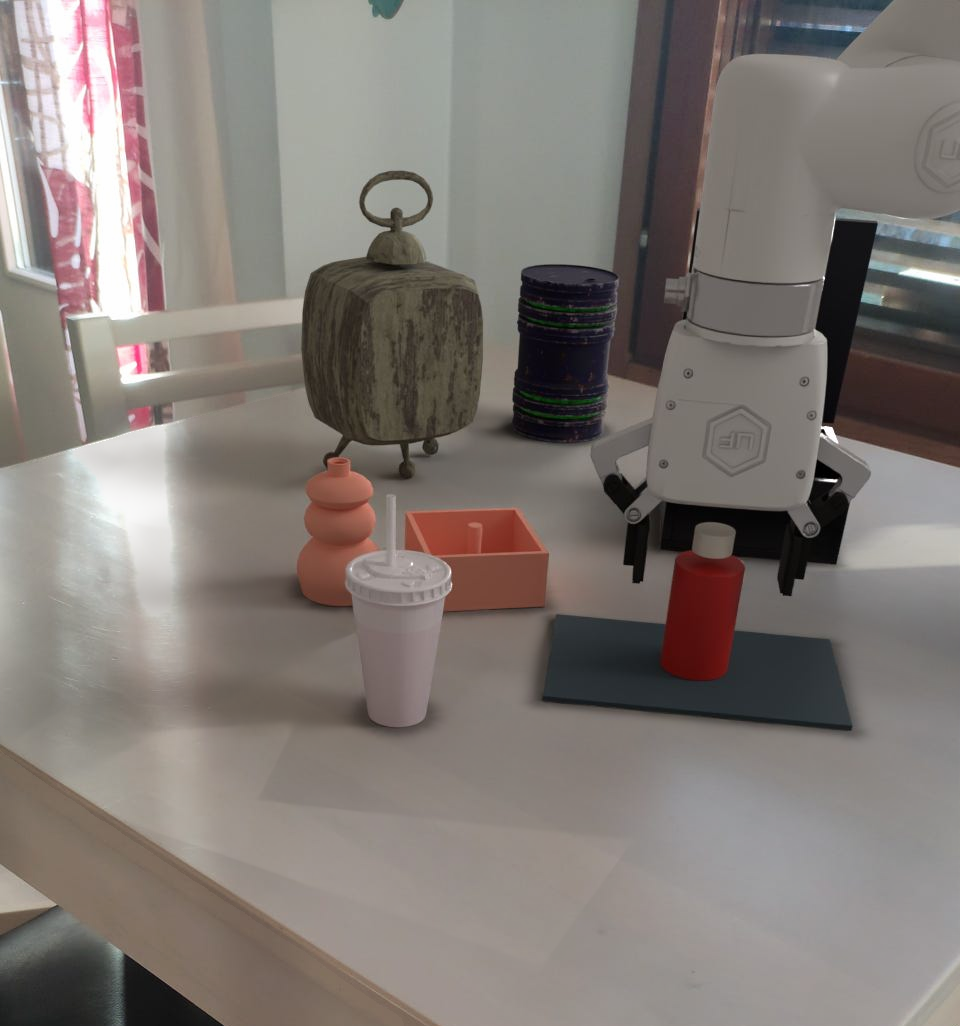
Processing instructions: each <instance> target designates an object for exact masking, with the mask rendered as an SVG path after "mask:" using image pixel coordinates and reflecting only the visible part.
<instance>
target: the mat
mask: <svg viewBox="0 0 960 1026" xmlns="http://www.w3.org/2000/svg"><path fill="white" fill-rule="evenodd" d="M554 617H555V618H554V624H553V630H552V635H551V641H550V648H549V654H548V661H547V666H546V672H545V679H544V685H543V691H542V699H541V701H542V702H551V703H560V704H561V703H562V704H572V705H582V706H592V707H602V708H612V709H613V708H614V709H620V710H621V709H622V710H623V709H624V710H633V711H642V712H655V713H662V714H663V713H664V714H674V715H684V716H695V717H705V718H713V719H714V718H715V719H726V720H734V721H735V720H737V721H746V722H747V721H748V722H755V723H756V722H757V723H765V724H766V723H767V724H778V725H787V726H797V727H808V728H809V727H810V728H816V729H817V728H818V729H826V730H827V729H829V730H837V731H838V730H841V731H848V732H849V731H850V732H851V731H852V730H853V722H852V719H851V718H852V717H851V714H850V711H849V707H848V702H847V699H846V694H845V691H844V687H843V683H842V679H841V675H840V672H839V671H840V670H839V668H838V664H837V659H836V656H835V652H834V650H833V645H832V641H831V639H830V638H821V637H820V638H819V637H808V636H801V635H800V636H798V635H787V634H777V633H776V634H775V633H767V632H766V633H765V632H755V631H744V630H735V629H734V635H733V641H732V646H731V652H730V657H729V663H728V669H727V672H726V673H725V674H724V675H723V676H722V677H720V678H717V679H714V680H708V681H695V680H688V679H683V678H680V677H677V676H674V675H672V674H670V673H668V672H667V671H666V670H664V669H663V667H662V666H661V662H660V661H661V654H662V647H663V640H664V633H665V626H666V623H658V622H646V621H637V620H636V621H635V620H624V619H614V618H605V617H603V618H602V617H592V616H582V615H572V614H571V615H570V614H562V613H561V614H560V613H556V614H555V616H554Z"/></svg>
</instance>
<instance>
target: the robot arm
mask: <svg viewBox="0 0 960 1026" xmlns="http://www.w3.org/2000/svg"><path fill="white" fill-rule="evenodd" d="M707 143H708V144H707V150H706V159H705V164H704V165H705V166H704V174H703V182H702V189H701V190H702V191H701V198H700V205H699V209H700V213H699V221H698V229H697V237H696V245H695V253H694V260H693V265H692V272H691V273H688V272H686V275H685V276H678V277H679V278H668V277H667V278H665V279H666V280H665V287H664V295H663V296H664V297H663V304H672V305H675V307H677V308H678V307H681V308H682V313H683V312H687V317H686V320H682V319H681V320H679V321H677V322H675V324H674V327H673V329H672V331H671V334H670V336H669V339H668V343H667V347H666V350H665V352H664V353H665V354H664V358H663V363H662V368H661V374H660V376H659V381H658V385H657V389H656V396H655V401H654V408H653V412H652V417H650V418H647V419H645V420H643V421H640V422H638V423H636V424H632V425H631V426H628V427H626V428H624V429H622V430H619V431H617V432H614V433H612V434H609V435H607V436H605V437H602V438H601V439H598V440H596V441H594V442H593V443H592V444H591V447H590V453H589V456H590V459H591V461H592V464H593V466H594V469H595V471H596V473H597V476H598V478H599V480H600V483H601V485H602V488H603V491H604V493H605V494H606V496H607V497H608V498H609V499H610V500H611V502H612V503H613V504H614V505H615V506H616V507H617V509H618V510H619V511H620V512H621V513H622V514H623V516H624V517H623V518H624V520H625V521H626V522H627V524H626V532H625V540H624V550H623V561H622V565H623V566H628V567H632V577H631V578H632V580H631V583H632V584H637V585H640V584H641V583H644V581H645V580H644V579H645V572H646V571H645V570H646V562H647V555H648V546H649V537H650V529H651V512H652V511H653V510H655V508H656V507H657V506H659V505H660V502H661V501H662V500H663V501H666V502H671V503H678V504H688V505H699V506H711V507H724V508H736V509H750V510H764V511H787V512H788V514H789V515H790V517H791V518H792V521H790V524H787V526H786V531H785V536H784V542H783V547H782V552H781V558H780V560H779V564H778V569H777V573H776V574H777V576H776V581H777V586H778V590H779V594H782V596H783V597H792V595H793V591H794V586H795V580H799V581H803V580H804V579H805V576H806V570H807V566H808V562H807V561H808V556H809V551H810V546H811V541H812V538H813V537H815V536H816V535H818V533H819V532H820V529H821V528H822V527H824V526H825V525H827V524H828V523H829V522H831V521H832V520H833V519H835V518H836V517H837V516H839V515H840V514H842V513H843V512H844V511H845V510H846V509H847V507H848V504H849V503H850V504H851V501H852V500H853V499H855V497H857V495H858V494H859V492H860V491H861V490H862V488H863V487H864V486H865V485H866V483H868V481H869V480H870V478H871V475H872V471H871V469H870V466H869V464H868V463H867V461H866V460H864V459H862V458H860V457H859V456H857V455H856V454H855V453H853V452H851V451H850V450H848V449H847V448H845V447H844V446H842V445H841V444H839V442H838V443H836V442H835V441H833V440H832V439H830V438H829V437H827V436H826V435H824V434H822V433H821V427H823V426H822V425H823V423H822V419H823V410H824V401H825V391H826V379H827V339H826V338H825V337H824V336H823V334H822V333H820V332H818V331H816V330H815V327H816V321H817V316H818V311H819V305H820V300H821V294H822V289H823V283H824V276H825V273H826V267H827V262H828V256H829V251H830V245H831V240H832V235H833V229H834V224H835V218H837V212H838V211H839V210H840V209H849V210H856V211H861V212H867V213H872V214H879V215H884V216H888V217H889V216H890V217H892V218H898V219H905V220H912V221H924V220H925V221H926V220H935V219H939V218H944V217H947V216H950V215H952V214H955V213H957V212H960V0H892V1H891V2H890V3H889V4H888V5H887V6H886V7H885V8H884V9H883V10H882V11H881V12H880V14H878V16H876V17H875V18H874V19H873V20H872V21H871V22H870V23H869V25H867V26H866V27H865V29H864V30H862V31H861V33H860V34H859V35H857V37H856V38H855V39H853V41H852V42H851V43H849V45H848V46H847V47H846V48H845V49H844V51H843V52H841V53H840V55H839V56H838V57H837V58H836V59H833V58H829V57H821V56H813V55H800V54H799V55H797V54H780V53H779V54H778V53H752V54H745V55H740V56H737V57H735V58H733V59H731V60H730V61H729V62H728V63H727V64H726V65H725V66H724V67H723V69H722V70H721V72H720V75H718V79H717V82H716V86H715V91H714V98H713V102H712V112H711V119H710V127H709V133H708V142H707ZM646 447H648V448H647V455H646V469H645V470H646V471H645V472H646V474H645V477H644V478H643V479H642V480H641V481H640V482H639V483H638V484H637V485H635V487H634V486H632V484H631V483H630V481H628V479H627V478H626V476H625V475H624V474H622V472H621V471H620V468H619V465H618V463H617V461H618V459H620V458H622V457H624V456H626V455H629V454H632V453H634V452H636V451H639V450H641V449H644V448H646ZM817 460H819V461H820V462H822V463H824V464H825V465H827V466H828V467H830V468H831V469H833V470H834V471H836V472H837V473H839V474H840V477H839V479H838V480H837V481H836V484H835V485H834V486H833V488H831V489H829V490H828V491H827V492H825V493H824V494H823V495H821V496H820V497H819V498H817V499H816V500H814V501H813V502H812V503H811V502H810V500H809V499H808V498H809V495H810V492H811V488H812V484H813V479H814V474H815V467H816V461H817Z"/></svg>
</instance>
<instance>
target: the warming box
mask: <svg viewBox="0 0 960 1026" xmlns="http://www.w3.org/2000/svg"><path fill="white" fill-rule="evenodd" d="M821 433H822V434H824V435H826V436H827V437H829V438H830V439H832V440H833V441H835V442H836V443H838V444H839V441H838V439H837V436H836V433H835V431H834V429H833V427H831V426H821ZM839 477H840V474H839V473H837V472H836V471H834V470H833V469H831V468H830V467H828V466H827V465H825V464H824V463H822V462H820V461H819V460H817V461H816V467H815V474H814V479H813V484H812V488H811V492H810V495H809V498H808V499H809V500H810V502H811V503H812V502H813V501H814V500H816V499H817V498H819V497H820V496H821V495H823V494H824V493H825V492H827V491H828V490H829V489H831V488H833V486H834V485H835V484H836V481H837V480H838V479H839ZM850 505H851V502H850V503H849V504H848V507H847V509H846V510H845V511H844V512H843V513H842V514H840V515H839V516H837V517H836V518H835V519H833V520H832V521H831V522H829V523H828V524H827V525H825V526H824V527H822V528H821V529H820V532H819V533H818V535H816V536H815V537H813V538H812V541H811V546H810V551H809V556H808V561H807V563H811V564H823V565H837V564H838V559H839V555H840V551H841V550H840V549H841V546H842V541H843V537H844V531H845V528H846V523H847V518H848V514H849V510H850ZM790 521H792V518H791V517H790V515H789V514H788V512H787V511H764V510H750V509H736V508H724V507H711V506H699V505H688V504H678V503H671V502H666V501H663V500H662V501H661V502H660V503H659V549H660V550H665V551H676V552H677V551H678V552H685V551H690V550H692V546H693V539H694V532H695V527H696V526H697V525H698V524H700V523H706V522H715V523H722V524H725V525H728V526H731V527H732V528H734V529H735V531H736V533H735V539H734V545H733V551H732V555H733V556H735V557H744V558H755V559H766V560H777V561H778V560H779V561H780V558H781V552H782V547H783V542H784V536H785V531H786V526H787V524H790Z"/></svg>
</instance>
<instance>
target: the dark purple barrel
mask: <svg viewBox="0 0 960 1026" xmlns="http://www.w3.org/2000/svg"><path fill="white" fill-rule="evenodd" d="M520 282H521V285H520V287H519V297H518V302H517V312H518V315H517V321H516V324H517V331H518V333H519V340H518V353H517V354H518V355H517V368H516V370H514V377H513V386H514V387H513V388H512V398H511V400H512V412H513V417H512V419H511V428H512V430H513V431H514V432H516V433H518V434H519V435H522V436H524V437H526V438H530V439H532V440H533V439H534V440H537V441H544V442H551V443H580V442H581V443H582V442H590V441H592V440H595V439H598V438H600V437H601V436H602V435H603V434H604V429H605V425H604V419H605V417H606V410H607V408H608V401H609V394H608V392H609V387H610V377H609V375H608V369H609V358H610V348H611V340H612V339H613V338H614V334H615V331H616V327H615V323H616V319H617V314H618V313H617V312H618V304H617V302H618V292H617V289H618V288H619V282H620V276H619V275H618V274H617V273H615V272H613V271H611V270H608V269H604V268H600V267H594V266H587V265H580V264H563V263H547V264H535V265H530V266H529V265H528V266H526V267H523V268H522V269H521V271H520Z"/></svg>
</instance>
